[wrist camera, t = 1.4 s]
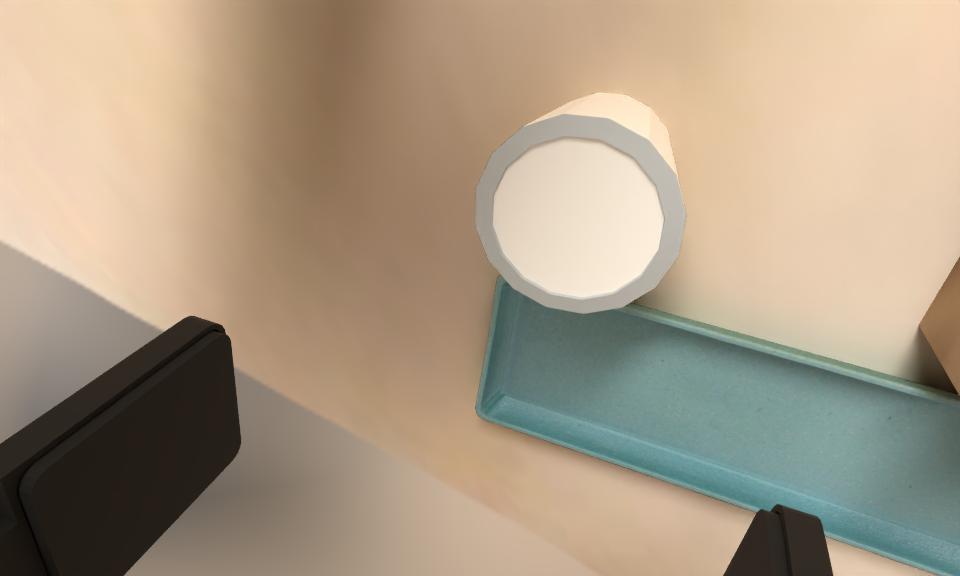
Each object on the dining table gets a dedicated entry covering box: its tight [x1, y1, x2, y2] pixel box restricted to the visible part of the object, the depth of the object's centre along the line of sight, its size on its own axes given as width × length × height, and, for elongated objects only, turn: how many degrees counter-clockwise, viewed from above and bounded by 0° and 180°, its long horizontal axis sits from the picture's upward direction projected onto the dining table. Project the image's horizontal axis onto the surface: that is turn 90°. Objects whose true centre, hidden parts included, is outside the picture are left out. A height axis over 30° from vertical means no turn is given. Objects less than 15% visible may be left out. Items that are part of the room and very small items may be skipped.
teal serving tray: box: [475, 275, 960, 576], centre depth 28 cm, size 26×9×2 cm, turn 81°
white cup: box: [475, 92, 687, 314], centre depth 22 cm, size 7×7×7 cm
